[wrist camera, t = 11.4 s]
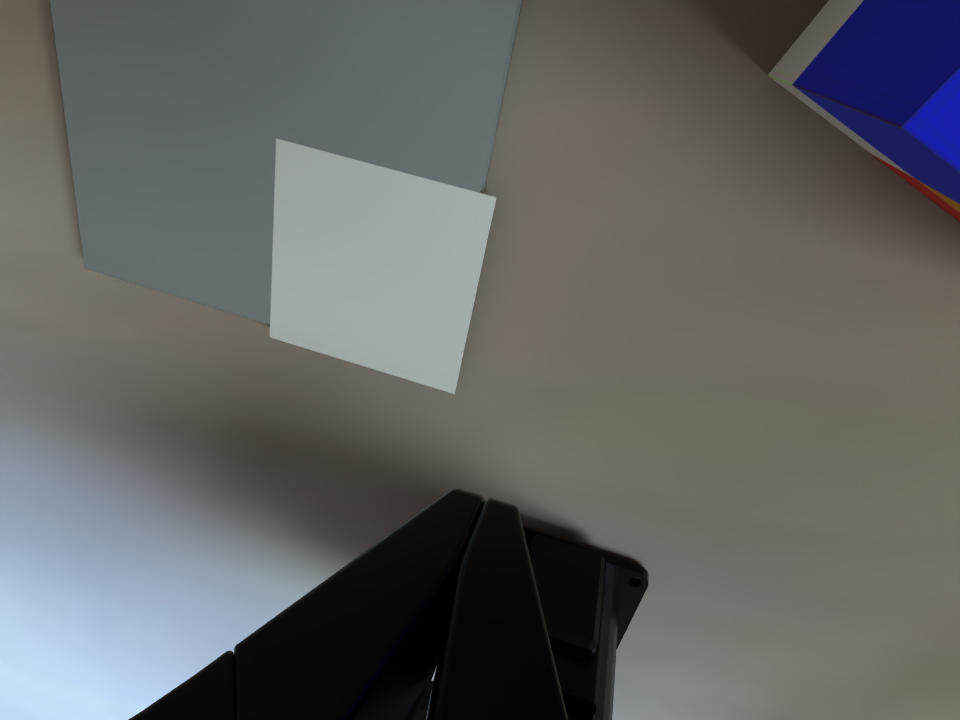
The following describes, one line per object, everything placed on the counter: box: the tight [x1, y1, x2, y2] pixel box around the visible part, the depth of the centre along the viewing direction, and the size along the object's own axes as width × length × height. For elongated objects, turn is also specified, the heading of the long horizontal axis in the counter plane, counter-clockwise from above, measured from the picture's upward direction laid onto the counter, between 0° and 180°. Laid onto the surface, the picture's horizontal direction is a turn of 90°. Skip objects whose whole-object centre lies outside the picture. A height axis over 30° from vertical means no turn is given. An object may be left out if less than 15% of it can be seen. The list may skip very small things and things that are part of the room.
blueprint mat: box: [50, 0, 522, 394], centre depth 18 cm, size 18×14×1 cm
